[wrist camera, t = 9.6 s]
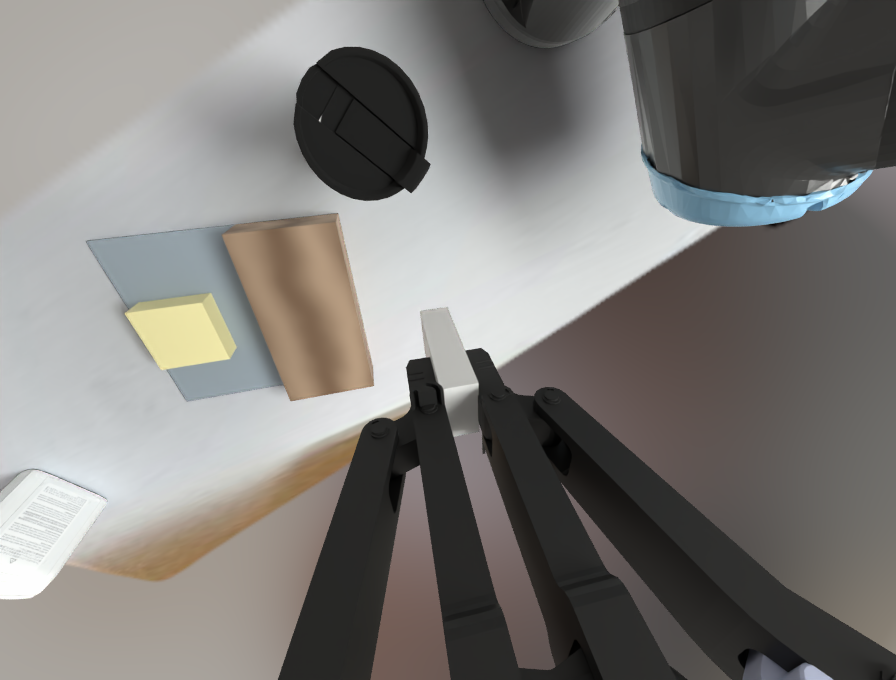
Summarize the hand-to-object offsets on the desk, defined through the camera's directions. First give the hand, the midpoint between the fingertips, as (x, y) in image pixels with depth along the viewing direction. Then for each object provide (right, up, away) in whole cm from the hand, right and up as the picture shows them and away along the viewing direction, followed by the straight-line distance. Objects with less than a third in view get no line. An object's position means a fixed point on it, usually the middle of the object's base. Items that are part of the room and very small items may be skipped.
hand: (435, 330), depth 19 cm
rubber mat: (-26, +1, +19) cm, 33 cm away
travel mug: (-7, +19, +13) cm, 25 cm away
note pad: (-27, 0, +17) cm, 32 cm away
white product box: (-51, -20, +27) cm, 61 cm away
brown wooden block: (-15, +3, +21) cm, 26 cm away
